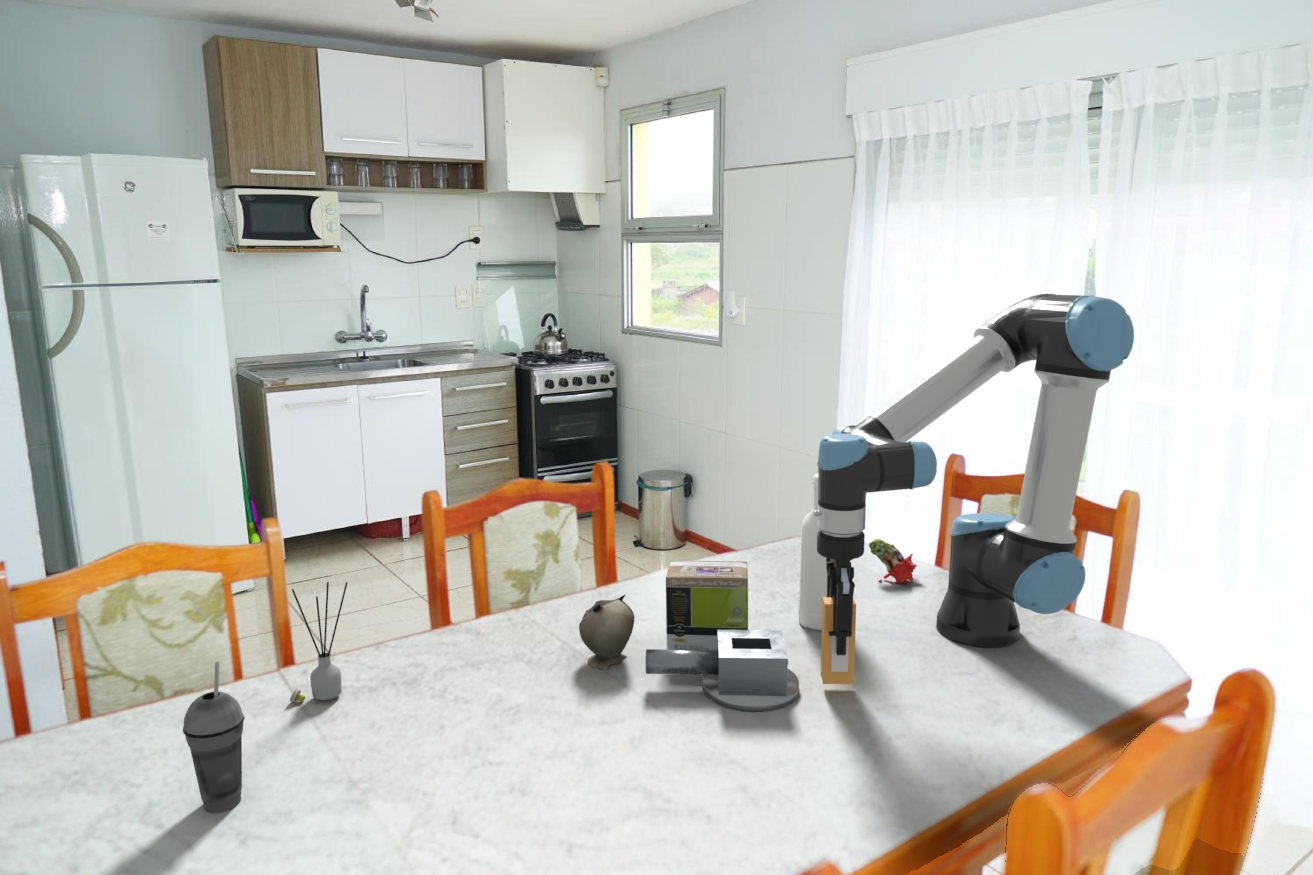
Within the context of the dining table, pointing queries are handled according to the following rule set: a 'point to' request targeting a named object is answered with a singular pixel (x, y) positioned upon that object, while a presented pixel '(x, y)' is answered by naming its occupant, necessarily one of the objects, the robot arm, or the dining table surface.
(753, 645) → the bracket head
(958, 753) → the dining table surface
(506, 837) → the dining table surface
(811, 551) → the bottle
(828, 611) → the tan wooden beam
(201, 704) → the beverage cup
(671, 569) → the tea box
